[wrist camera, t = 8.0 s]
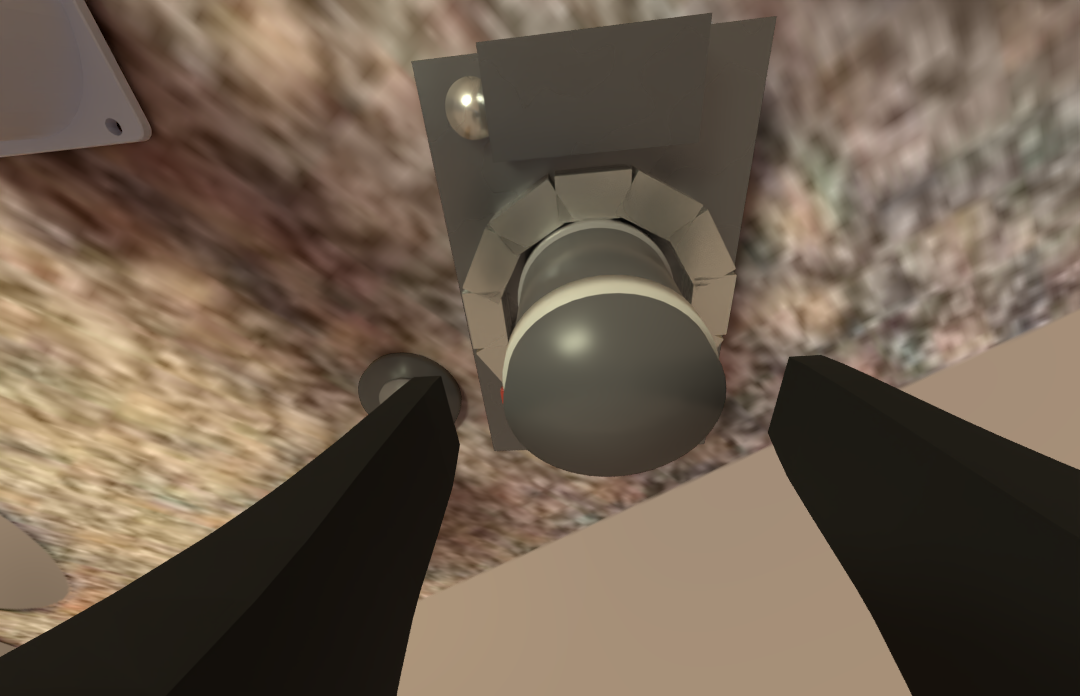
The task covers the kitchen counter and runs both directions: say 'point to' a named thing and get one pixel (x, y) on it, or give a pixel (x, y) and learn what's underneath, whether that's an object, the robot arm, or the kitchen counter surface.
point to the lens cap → (403, 379)
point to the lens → (608, 355)
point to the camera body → (594, 158)
